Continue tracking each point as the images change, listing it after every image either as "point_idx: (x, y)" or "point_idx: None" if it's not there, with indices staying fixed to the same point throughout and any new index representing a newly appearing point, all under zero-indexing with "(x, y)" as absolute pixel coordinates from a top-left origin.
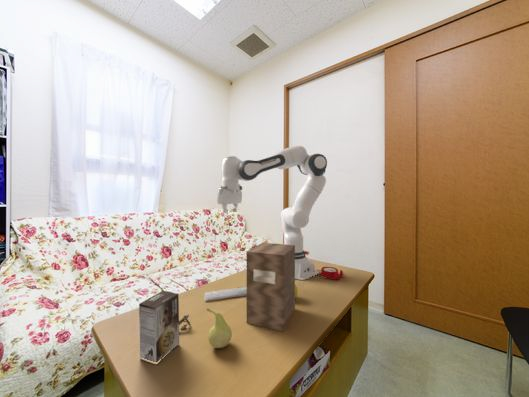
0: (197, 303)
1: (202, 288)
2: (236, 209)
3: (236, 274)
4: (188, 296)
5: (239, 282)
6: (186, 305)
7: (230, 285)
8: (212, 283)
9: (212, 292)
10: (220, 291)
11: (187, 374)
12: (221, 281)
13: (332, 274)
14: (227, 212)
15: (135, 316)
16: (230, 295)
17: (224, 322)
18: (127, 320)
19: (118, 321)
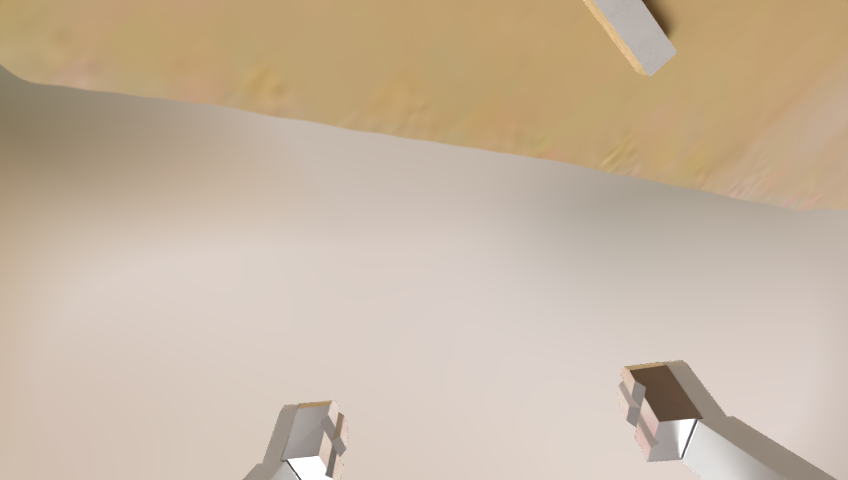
0: (686, 62)
1: (560, 149)
2: (274, 438)
3: (361, 128)
4: (639, 140)
5: (434, 45)
6: (709, 88)
7: (485, 62)
8: (501, 150)
9: (643, 41)
10: (624, 13)
11: None
12: (466, 132)
13: None
14: (638, 366)
15: (800, 171)
16: None
17: None
18: (825, 169)
19: (830, 185)
